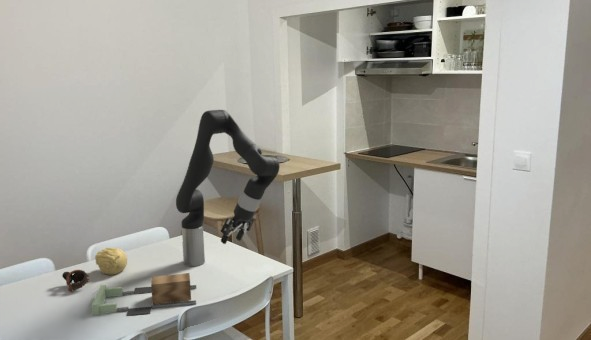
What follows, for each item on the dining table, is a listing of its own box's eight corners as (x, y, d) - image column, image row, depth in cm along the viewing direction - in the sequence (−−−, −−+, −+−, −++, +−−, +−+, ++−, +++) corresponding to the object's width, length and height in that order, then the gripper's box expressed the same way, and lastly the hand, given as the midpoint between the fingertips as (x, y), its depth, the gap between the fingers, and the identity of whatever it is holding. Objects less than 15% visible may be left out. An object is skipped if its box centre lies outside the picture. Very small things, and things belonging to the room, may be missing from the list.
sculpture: (92, 275, 205) (90, 251, 203) (112, 264, 216) (110, 241, 214) (113, 279, 201) (111, 254, 199) (133, 268, 212) (131, 244, 210)
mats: (126, 316, 171) (126, 315, 171) (135, 288, 192) (134, 287, 192) (150, 313, 172) (150, 312, 172) (155, 286, 193) (155, 286, 193)
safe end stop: (92, 315, 172) (91, 305, 171) (101, 294, 187) (100, 285, 186) (116, 313, 173) (115, 302, 172) (123, 292, 188) (122, 283, 188)
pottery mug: (96, 282, 199) (93, 270, 193) (82, 301, 192) (78, 289, 186) (70, 273, 200) (66, 261, 195) (55, 292, 193) (51, 280, 188)
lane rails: (116, 311, 174) (116, 309, 174) (123, 293, 188) (122, 291, 187) (195, 304, 179) (195, 301, 179) (196, 287, 193) (196, 284, 192)
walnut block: (152, 304, 179) (151, 284, 177) (153, 296, 186) (151, 276, 184) (191, 300, 182) (190, 280, 181) (190, 291, 189) (189, 272, 187)
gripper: (252, 198, 185) (236, 233, 189) (227, 200, 173) (211, 237, 177) (266, 209, 181) (249, 244, 186) (241, 212, 169) (224, 249, 174)
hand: (230, 241), depth 182 cm, fingers open, 8 cm apart
